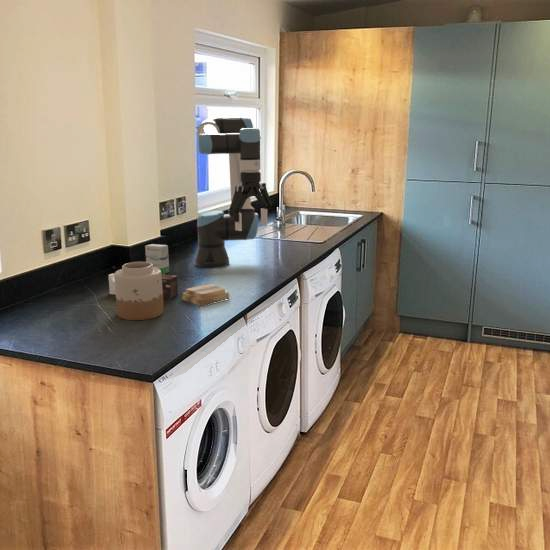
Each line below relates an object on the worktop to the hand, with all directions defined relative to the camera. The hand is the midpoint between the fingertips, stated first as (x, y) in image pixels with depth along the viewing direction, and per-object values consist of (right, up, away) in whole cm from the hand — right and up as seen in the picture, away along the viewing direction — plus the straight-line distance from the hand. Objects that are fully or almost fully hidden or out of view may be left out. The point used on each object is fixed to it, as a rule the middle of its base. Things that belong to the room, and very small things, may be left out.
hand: (251, 228), depth 230 cm
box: (-31, -26, -6) cm, 41 cm away
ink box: (-41, -17, +28) cm, 52 cm away
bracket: (-47, -24, +2) cm, 53 cm away
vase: (-36, -31, -26) cm, 54 cm away
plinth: (-16, -27, -11) cm, 33 cm away
